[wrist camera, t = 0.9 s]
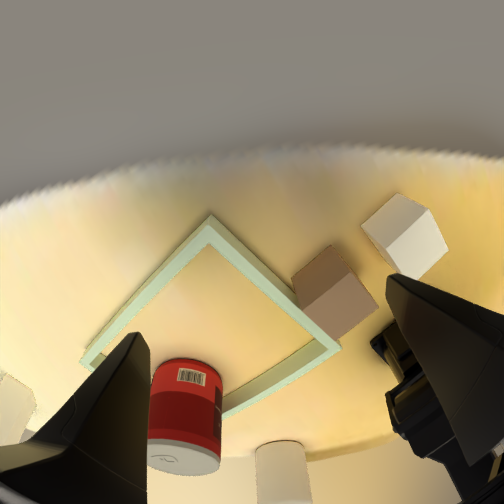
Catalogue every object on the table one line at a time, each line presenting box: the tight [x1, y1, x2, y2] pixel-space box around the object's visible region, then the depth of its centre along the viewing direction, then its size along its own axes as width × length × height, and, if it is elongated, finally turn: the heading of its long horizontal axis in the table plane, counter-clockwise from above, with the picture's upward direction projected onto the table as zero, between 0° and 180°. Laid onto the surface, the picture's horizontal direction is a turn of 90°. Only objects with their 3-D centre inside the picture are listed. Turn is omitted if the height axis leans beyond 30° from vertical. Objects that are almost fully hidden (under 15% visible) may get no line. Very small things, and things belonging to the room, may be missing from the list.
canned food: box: [147, 359, 223, 476], centre depth 25 cm, size 8×8×11 cm
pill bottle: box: [255, 441, 312, 504], centre depth 31 cm, size 8×8×15 cm
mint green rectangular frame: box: [79, 214, 342, 420], centre depth 27 cm, size 17×22×2 cm
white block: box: [361, 193, 448, 280], centre depth 21 cm, size 4×4×5 cm
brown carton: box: [291, 245, 379, 341], centre depth 23 cm, size 4×4×5 cm
